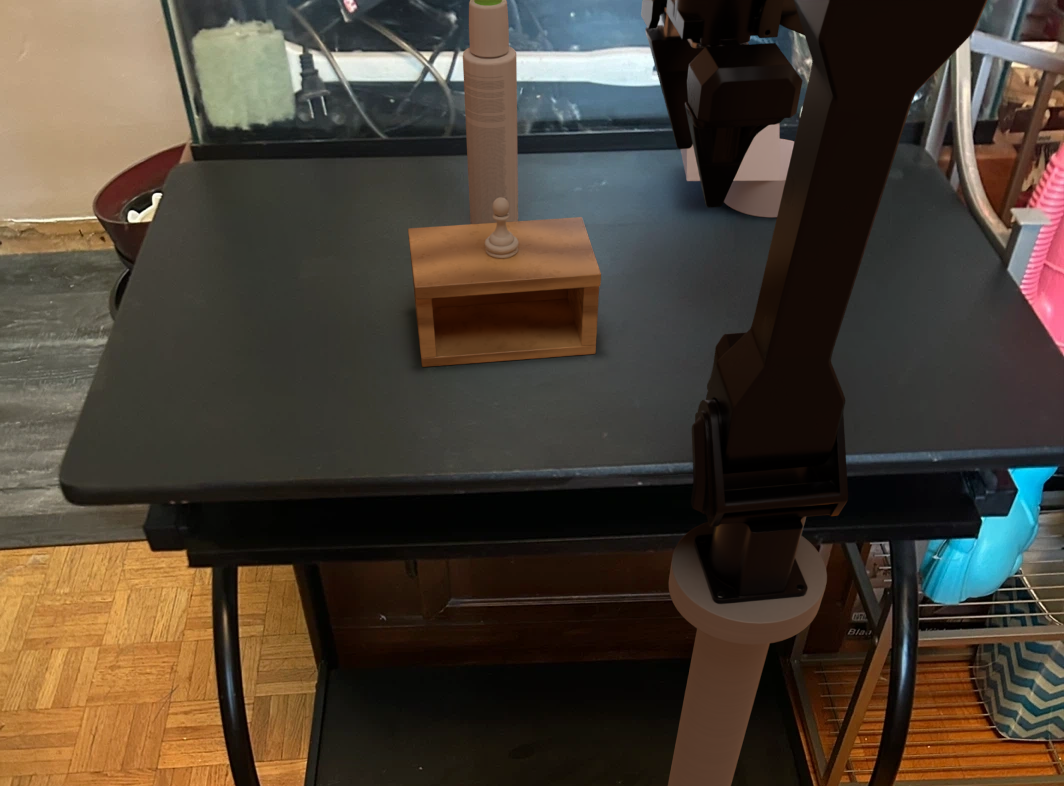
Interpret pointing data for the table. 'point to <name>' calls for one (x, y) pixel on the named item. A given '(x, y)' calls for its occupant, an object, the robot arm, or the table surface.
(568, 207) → the table surface
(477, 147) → the bottle
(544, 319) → the shelf
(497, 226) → the pawn
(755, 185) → the wedge on round base
